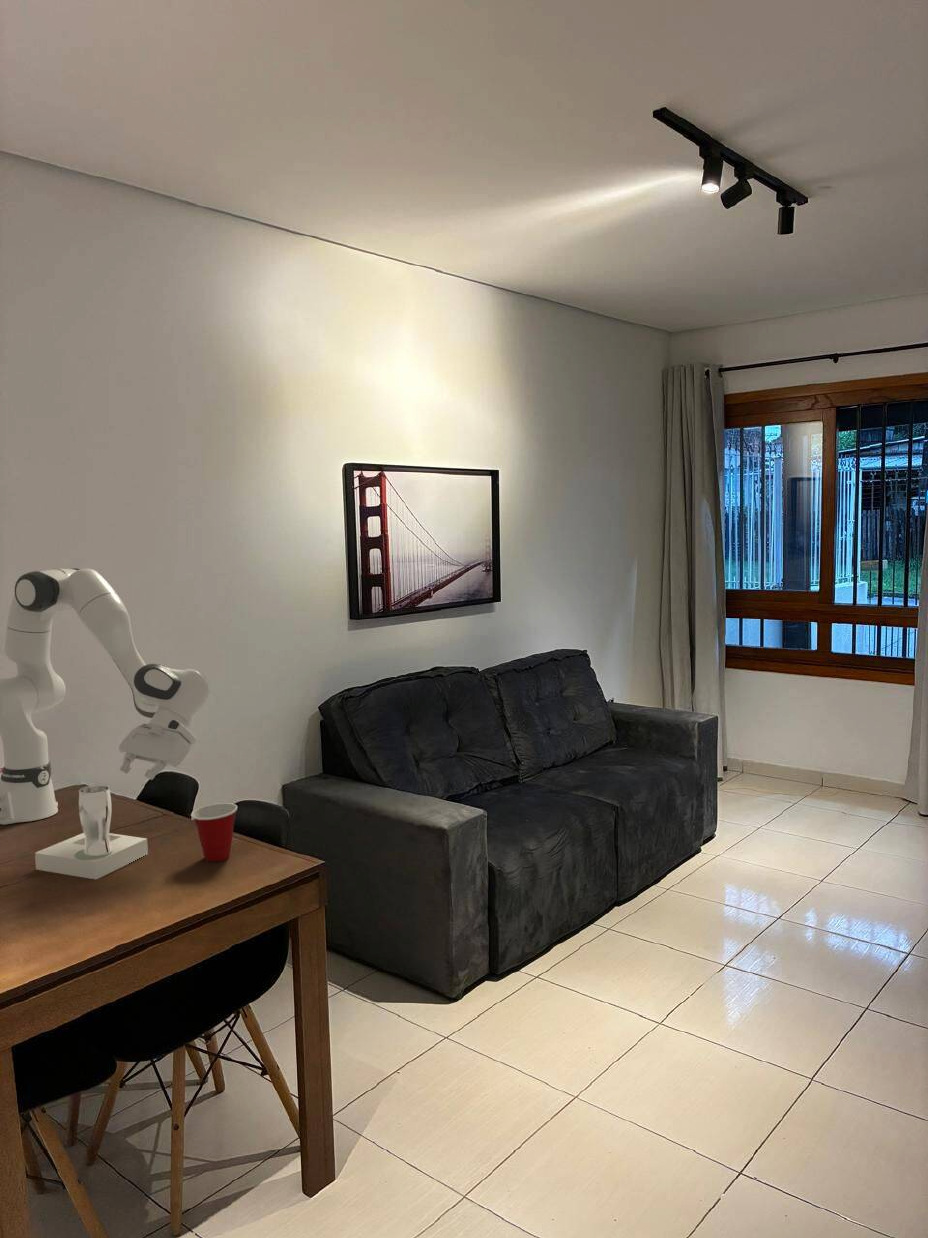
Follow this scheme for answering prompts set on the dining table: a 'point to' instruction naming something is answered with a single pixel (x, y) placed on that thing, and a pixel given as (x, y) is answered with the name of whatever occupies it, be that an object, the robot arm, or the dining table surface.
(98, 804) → the beer glass
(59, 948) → the dining table surface
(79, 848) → the pale board
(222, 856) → the plastic cup
